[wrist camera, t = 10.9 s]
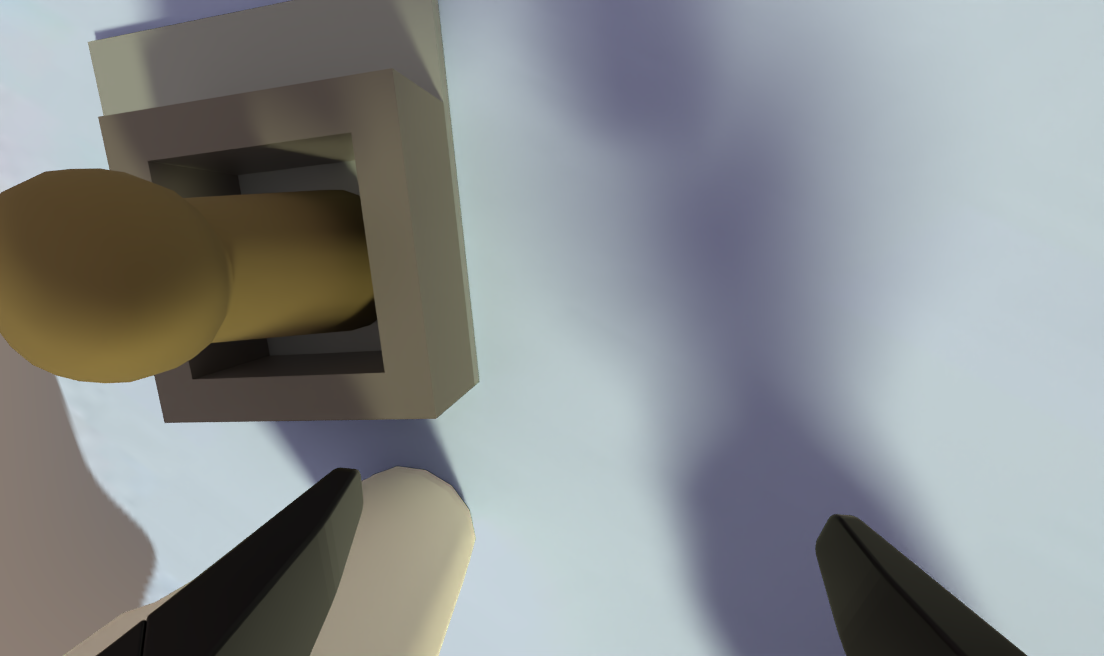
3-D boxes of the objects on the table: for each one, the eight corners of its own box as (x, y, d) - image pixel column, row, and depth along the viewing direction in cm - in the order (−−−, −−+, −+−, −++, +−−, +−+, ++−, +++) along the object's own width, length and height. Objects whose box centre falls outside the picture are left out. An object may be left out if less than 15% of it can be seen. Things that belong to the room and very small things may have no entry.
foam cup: (326, 597, 25) (9, 952, 13) (318, 425, 24) (-57, 639, 11) (505, 630, 24) (347, 1076, 11) (511, 449, 22) (330, 731, 9)
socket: (479, 381, 22) (435, 418, 17) (175, 390, 25) (71, 424, 20) (435, -20, 19) (371, -99, 15) (102, 47, 22) (-34, -2, 18)
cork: (261, 201, 21) (-120, 164, 11) (387, 177, 20) (98, 108, 10) (292, 337, 22) (-31, 428, 12) (414, 322, 21) (178, 408, 10)
